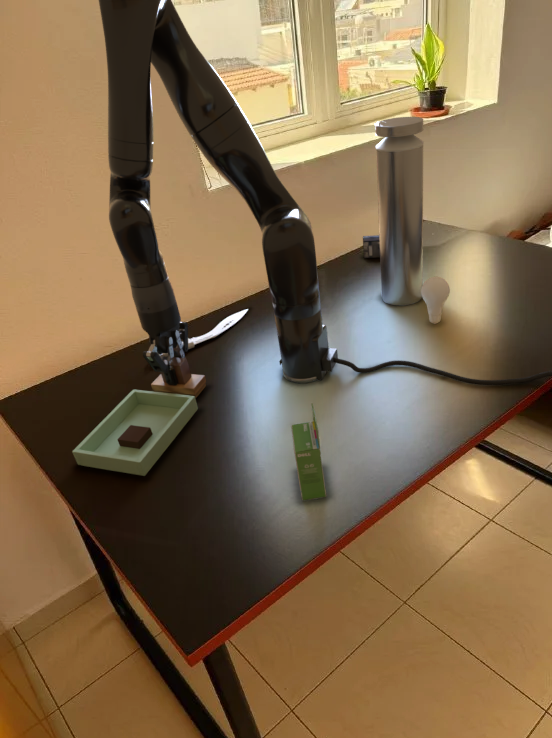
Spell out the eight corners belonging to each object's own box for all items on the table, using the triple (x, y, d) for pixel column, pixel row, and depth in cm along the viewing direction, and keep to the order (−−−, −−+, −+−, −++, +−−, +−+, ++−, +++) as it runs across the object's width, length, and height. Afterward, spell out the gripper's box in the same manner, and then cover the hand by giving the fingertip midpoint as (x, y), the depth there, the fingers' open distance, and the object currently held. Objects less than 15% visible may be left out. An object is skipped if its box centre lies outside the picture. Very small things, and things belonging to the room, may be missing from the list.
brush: (208, 387, 119) (200, 356, 114) (196, 401, 115) (188, 369, 111) (166, 383, 122) (157, 352, 118) (154, 396, 118) (144, 365, 114)
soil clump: (152, 434, 106) (150, 427, 105) (140, 449, 103) (137, 442, 102) (132, 431, 108) (130, 424, 107) (119, 446, 104) (117, 439, 104)
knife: (247, 305, 147) (264, 314, 142) (248, 311, 148) (265, 320, 142) (139, 346, 133) (153, 357, 128) (141, 352, 134) (155, 363, 129)
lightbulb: (418, 328, 128) (418, 282, 122) (424, 316, 133) (424, 271, 127) (445, 330, 126) (447, 284, 120) (451, 317, 131) (452, 272, 124)
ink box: (298, 471, 94) (287, 405, 86) (321, 468, 94) (313, 401, 86) (301, 501, 88) (290, 433, 81) (327, 498, 88) (318, 429, 81)
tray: (198, 410, 112) (194, 395, 110) (145, 478, 97) (139, 462, 95) (138, 403, 117) (133, 389, 115) (78, 467, 102) (71, 451, 100)
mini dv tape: (363, 258, 167) (362, 237, 163) (364, 256, 168) (363, 236, 164) (392, 256, 165) (391, 236, 161) (392, 254, 166) (392, 234, 163)
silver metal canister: (429, 291, 143) (431, 116, 121) (412, 308, 137) (411, 126, 114) (392, 285, 149) (387, 117, 126) (374, 302, 142) (366, 127, 119)
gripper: (153, 320, 100) (176, 401, 110) (190, 287, 111) (209, 362, 121) (117, 318, 103) (143, 397, 113) (157, 286, 113) (178, 360, 123)
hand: (177, 379), depth 117 cm, fingers closed on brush, 3 cm apart
